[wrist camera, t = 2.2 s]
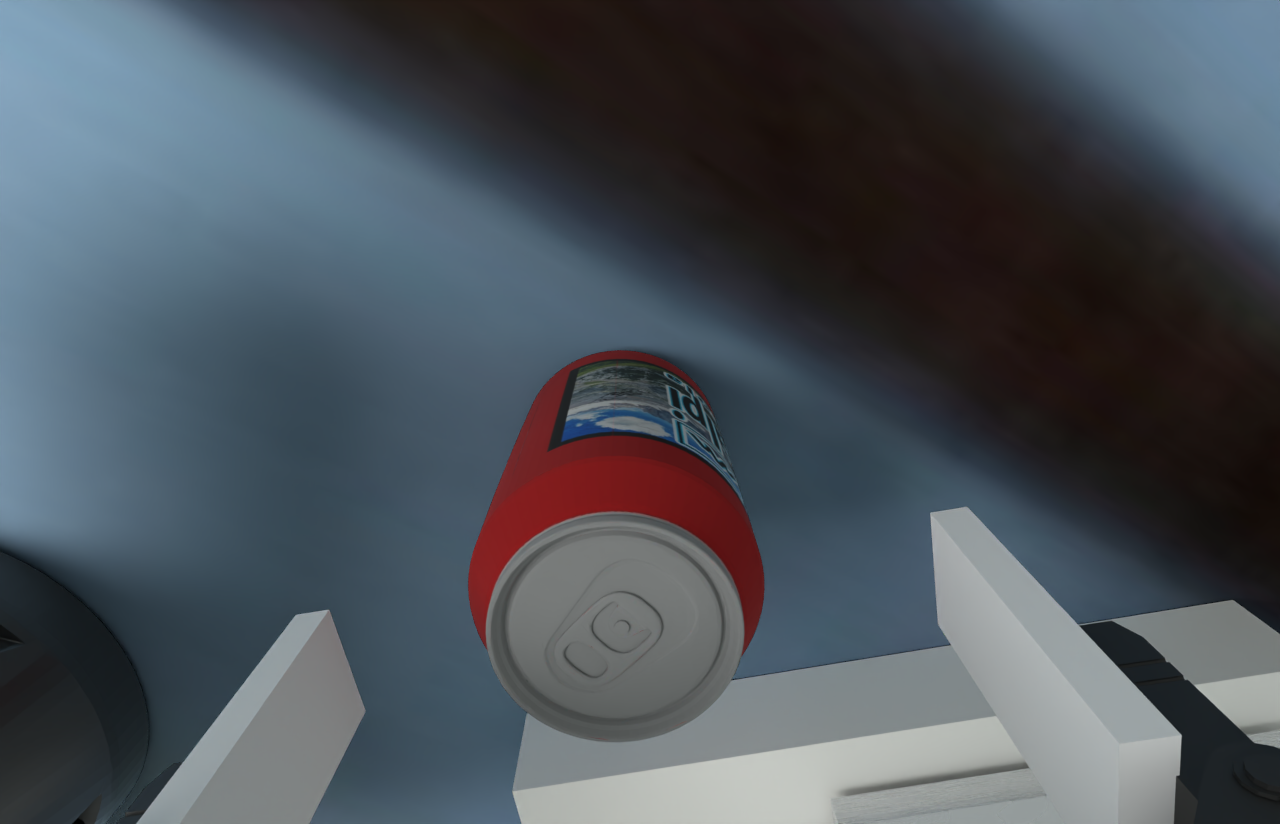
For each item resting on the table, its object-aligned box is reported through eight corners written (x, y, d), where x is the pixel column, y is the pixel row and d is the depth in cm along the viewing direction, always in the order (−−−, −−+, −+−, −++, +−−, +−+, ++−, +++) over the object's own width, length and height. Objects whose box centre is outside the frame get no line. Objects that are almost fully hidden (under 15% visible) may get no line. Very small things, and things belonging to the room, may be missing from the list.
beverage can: (755, 432, 27) (847, 631, 16) (625, 555, 28) (622, 819, 17) (617, 302, 25) (606, 417, 14) (487, 439, 27) (382, 644, 16)
